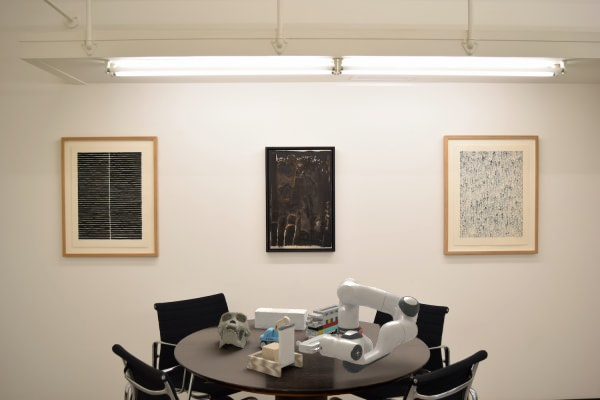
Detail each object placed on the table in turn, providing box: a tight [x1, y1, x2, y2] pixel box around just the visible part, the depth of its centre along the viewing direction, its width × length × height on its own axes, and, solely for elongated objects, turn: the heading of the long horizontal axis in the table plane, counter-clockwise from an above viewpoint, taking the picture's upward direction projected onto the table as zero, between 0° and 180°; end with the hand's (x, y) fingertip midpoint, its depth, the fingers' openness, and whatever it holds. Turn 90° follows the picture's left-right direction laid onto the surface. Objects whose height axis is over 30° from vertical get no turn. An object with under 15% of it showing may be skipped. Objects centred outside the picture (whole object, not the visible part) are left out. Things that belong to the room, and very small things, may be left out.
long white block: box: [254, 307, 308, 331], centre depth 309 cm, size 32×11×11 cm, turn 81°
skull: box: [217, 311, 252, 349], centre depth 271 cm, size 18×21×28 cm
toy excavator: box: [259, 316, 290, 349], centre depth 267 cm, size 9×17×17 cm, turn 78°
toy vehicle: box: [304, 303, 339, 338], centre depth 293 cm, size 8×30×15 cm, turn 141°
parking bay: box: [246, 350, 304, 378], centre depth 236 cm, size 20×18×6 cm
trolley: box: [261, 323, 295, 369], centre depth 235 cm, size 14×12×22 cm
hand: (302, 340), depth 225 cm, fingers open, 8 cm apart
